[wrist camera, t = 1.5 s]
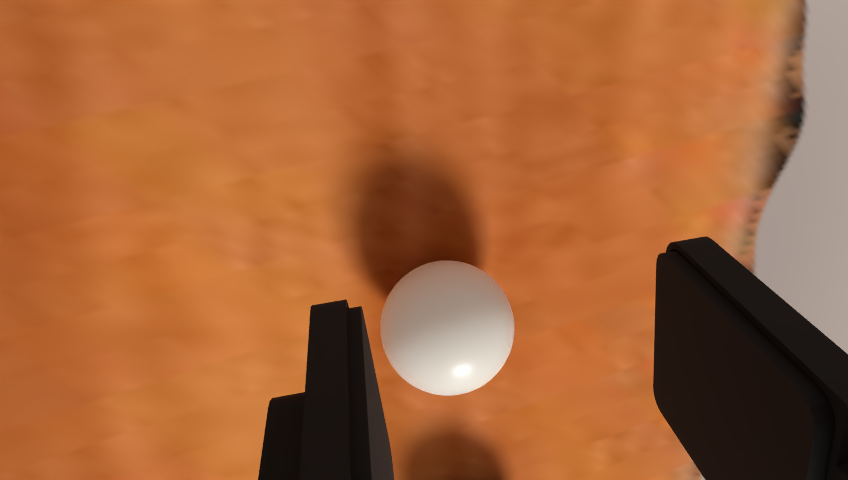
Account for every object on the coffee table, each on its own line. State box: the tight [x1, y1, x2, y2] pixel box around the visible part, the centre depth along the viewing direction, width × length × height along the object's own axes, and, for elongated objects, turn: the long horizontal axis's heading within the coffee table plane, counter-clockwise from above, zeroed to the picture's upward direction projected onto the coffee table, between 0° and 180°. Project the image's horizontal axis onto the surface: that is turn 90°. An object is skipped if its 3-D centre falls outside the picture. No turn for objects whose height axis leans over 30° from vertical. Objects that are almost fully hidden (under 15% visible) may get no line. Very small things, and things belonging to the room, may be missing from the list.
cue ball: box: [380, 260, 514, 395], centre depth 28 cm, size 6×6×6 cm
